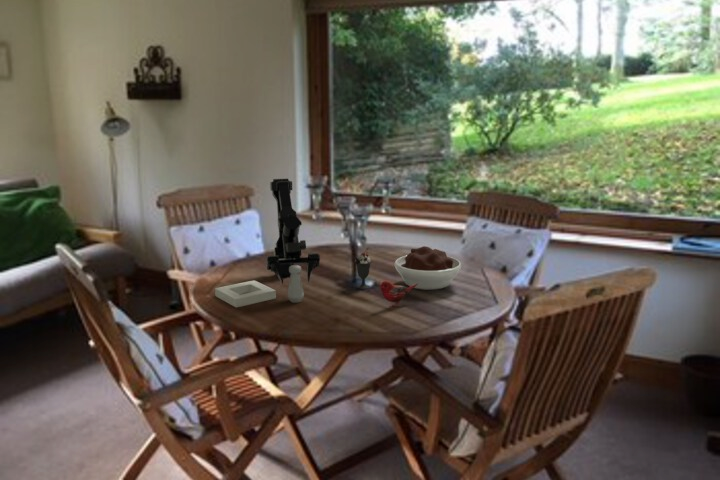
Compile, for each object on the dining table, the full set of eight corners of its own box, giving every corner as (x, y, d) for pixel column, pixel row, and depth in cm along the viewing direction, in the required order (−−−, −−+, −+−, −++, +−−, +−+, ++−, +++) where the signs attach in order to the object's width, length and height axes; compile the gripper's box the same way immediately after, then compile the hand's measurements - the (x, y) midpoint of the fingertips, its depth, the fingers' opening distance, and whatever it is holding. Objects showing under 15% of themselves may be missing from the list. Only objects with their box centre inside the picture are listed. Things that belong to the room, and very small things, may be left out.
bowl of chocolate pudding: (473, 285, 248) (474, 247, 244) (433, 301, 230) (434, 260, 227) (421, 273, 265) (422, 237, 261) (381, 286, 247) (381, 248, 243)
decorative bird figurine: (376, 309, 222) (376, 281, 220) (415, 299, 232) (415, 272, 230) (382, 311, 220) (382, 283, 217) (420, 301, 230) (421, 274, 228)
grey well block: (254, 287, 246) (254, 280, 245) (276, 298, 233) (275, 290, 233) (215, 296, 236) (215, 288, 236) (235, 307, 224) (235, 299, 223)
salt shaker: (301, 304, 227) (300, 268, 224) (285, 303, 228) (284, 267, 225) (305, 298, 233) (305, 264, 230) (290, 297, 234) (289, 263, 231)
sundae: (374, 285, 248) (374, 247, 245) (368, 290, 242) (368, 251, 239) (358, 283, 250) (358, 246, 247) (352, 288, 244) (352, 250, 241)
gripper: (266, 233, 227) (269, 272, 219) (318, 231, 231) (324, 269, 223) (265, 250, 236) (268, 288, 228) (315, 247, 240) (321, 284, 232)
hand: (295, 282), depth 228 cm, fingers open, 9 cm apart
